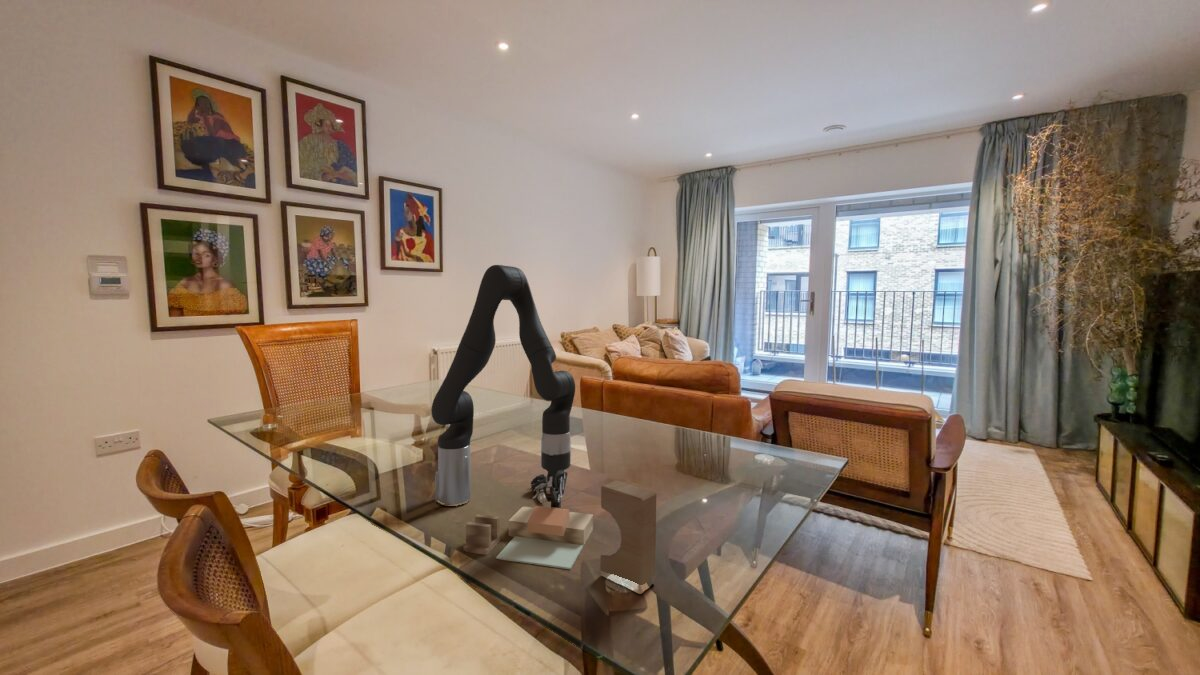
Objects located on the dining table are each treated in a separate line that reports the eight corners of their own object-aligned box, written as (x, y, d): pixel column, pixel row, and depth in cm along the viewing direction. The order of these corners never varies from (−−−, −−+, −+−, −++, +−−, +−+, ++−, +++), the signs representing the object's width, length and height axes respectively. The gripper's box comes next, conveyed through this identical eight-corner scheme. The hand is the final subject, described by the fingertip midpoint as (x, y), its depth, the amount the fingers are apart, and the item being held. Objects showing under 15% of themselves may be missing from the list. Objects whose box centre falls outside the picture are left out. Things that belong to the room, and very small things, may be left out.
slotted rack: (463, 551, 110) (463, 526, 110) (479, 536, 118) (479, 512, 118) (486, 554, 109) (486, 529, 109) (501, 539, 117) (501, 514, 116)
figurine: (557, 502, 139) (554, 480, 154) (547, 484, 138) (545, 464, 152) (536, 513, 138) (535, 490, 153) (526, 495, 137) (526, 474, 152)
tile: (528, 531, 114) (527, 522, 113) (536, 515, 119) (535, 505, 118) (563, 536, 112) (562, 526, 111) (570, 518, 117) (569, 509, 116)
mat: (496, 558, 107) (496, 557, 107) (515, 537, 117) (515, 536, 117) (570, 569, 103) (570, 567, 103) (583, 546, 113) (583, 545, 113)
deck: (508, 535, 118) (508, 520, 118) (522, 520, 127) (522, 506, 127) (583, 545, 114) (583, 529, 114) (592, 529, 122) (593, 514, 122)
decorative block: (599, 576, 101) (599, 485, 100) (615, 565, 105) (616, 479, 104) (640, 597, 93) (641, 499, 92) (656, 585, 98) (657, 491, 97)
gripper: (550, 441, 126) (550, 503, 127) (532, 455, 114) (532, 524, 114) (577, 442, 125) (576, 505, 126) (562, 457, 112) (561, 527, 113)
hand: (555, 514), depth 120 cm, fingers closed
